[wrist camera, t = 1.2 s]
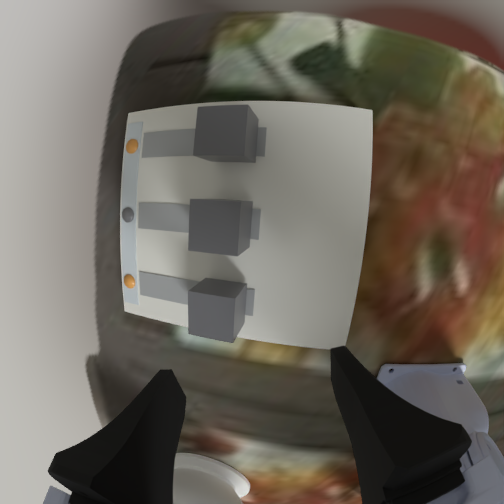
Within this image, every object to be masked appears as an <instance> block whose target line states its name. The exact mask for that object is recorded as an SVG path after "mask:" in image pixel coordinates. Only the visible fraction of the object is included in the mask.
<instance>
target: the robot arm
mask: <svg viewBox="0 0 504 504" xmlns="http://www.w3.org/2000/svg"><path fill="white" fill-rule="evenodd" d="M330 351H331V381H332V385H333V390H334V394H335V398H336V401H337V403H338V406H339V409H340V412H341V414H342V417H343V420H344V423H345V425H346V428H347V431H348V434H349V437H350V440H351V443H352V448H353V452H354V457H355V461H356V466H357V472H358V477H359V483H360V489H361V496H362V504H504V457H503V456H502V454H501V452H500V450H499V449H498V447H497V446H496V444H495V443H494V441H493V440H492V439H491V438H490V436H489V435H488V428H489V420H488V413H487V410H486V408H485V406H484V404H483V403H482V401H481V400H480V398H479V397H478V395H477V393H476V392H475V390H474V389H473V387H472V386H471V384H470V383H469V381H468V380H467V379H466V377H465V376H464V371H465V369H466V365H465V364H464V363H452V364H384V365H383V366H381V368H380V371H379V374H378V376H377V379H376V378H375V377H374V376H373V375H372V374H371V373H370V372H369V371H368V370H367V369H366V368H365V367H364V366H363V365H362V364H361V363H360V362H359V361H358V360H357V359H356V358H355V357H354V356H353V354H352V353H351V352H350V351H349V350H348V349H347V347H345V346H340V347H335V348H331V349H330ZM392 368H393V370H391V371H389V370H390V369H392ZM454 368H455V369H454ZM185 406H186V396H185V394H184V392H183V390H182V389H181V387H180V385H179V383H178V381H177V379H176V377H175V375H174V373H173V371H172V369H171V370H160V371H159V372H158V373H157V374H156V375H155V376H154V377H153V378H152V380H151V381H150V382H149V383H148V384H147V385H146V387H145V388H144V389H143V390H142V391H141V392H140V393H139V395H138V396H137V397H136V398H135V399H134V400H133V401H132V402H131V403H130V404H129V405H128V406H127V407H126V408H125V409H124V410H123V411H122V413H120V414H119V415H118V416H117V417H116V418H115V419H114V420H113V421H111V422H110V423H109V424H108V425H107V426H105V427H104V428H103V429H101V430H100V431H98V432H97V433H96V434H94V435H92V436H91V437H90V438H88V439H86V440H84V441H82V442H80V443H79V444H77V445H75V446H72V447H70V448H68V449H65V450H63V451H60V452H58V453H56V454H55V456H54V459H53V461H52V463H51V465H50V467H49V469H48V472H49V474H50V475H51V476H52V477H53V478H54V479H55V480H57V481H58V482H59V483H61V484H62V485H64V486H65V487H66V488H68V489H69V490H71V491H72V494H71V495H69V494H67V493H65V492H63V491H61V490H59V489H57V488H55V487H53V486H50V487H49V490H48V492H47V495H46V498H45V500H44V502H43V504H173V475H174V463H175V456H176V450H177V446H178V442H179V438H180V433H181V429H182V425H183V420H184V416H185Z"/></svg>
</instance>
